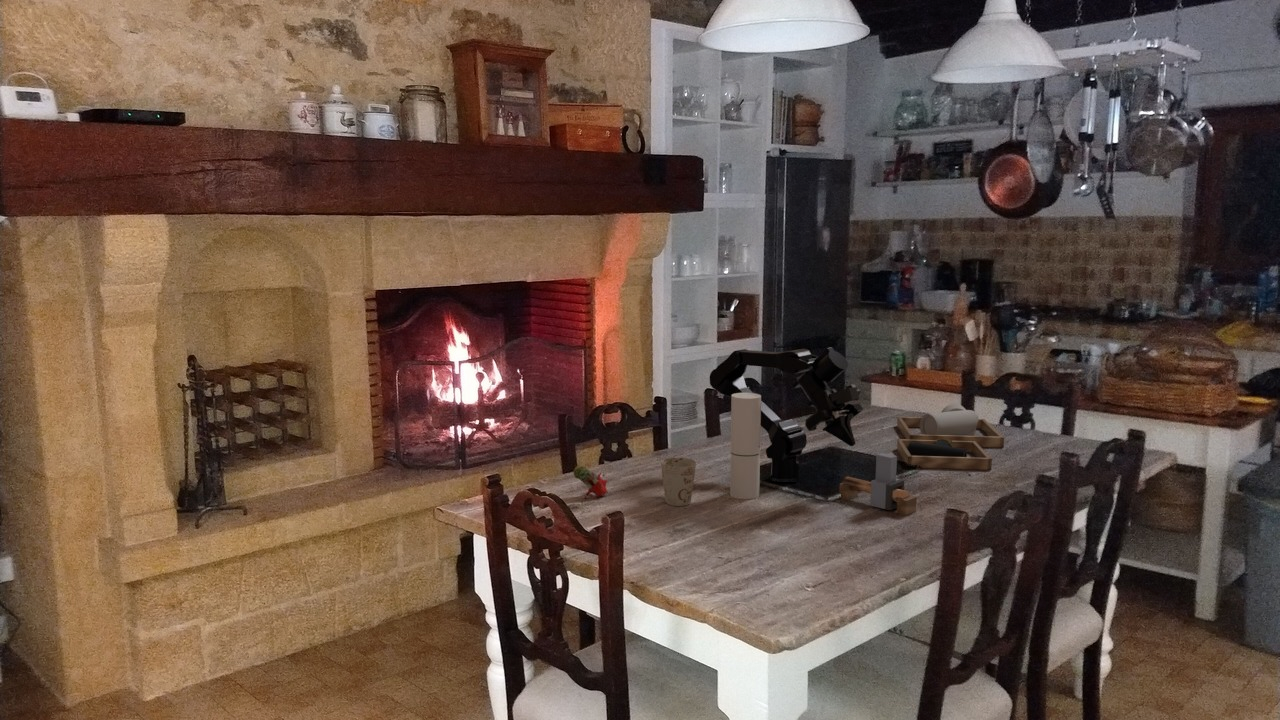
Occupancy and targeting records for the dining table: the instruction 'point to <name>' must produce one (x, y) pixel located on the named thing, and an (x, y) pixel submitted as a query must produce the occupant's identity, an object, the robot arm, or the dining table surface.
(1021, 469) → the dining table surface
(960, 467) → the wooden tray
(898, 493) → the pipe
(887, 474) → the sleeve
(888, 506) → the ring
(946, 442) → the pipe connector
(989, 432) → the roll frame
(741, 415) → the cylindrical container
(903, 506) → the cradle
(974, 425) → the elbow connector
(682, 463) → the beige paper cup
